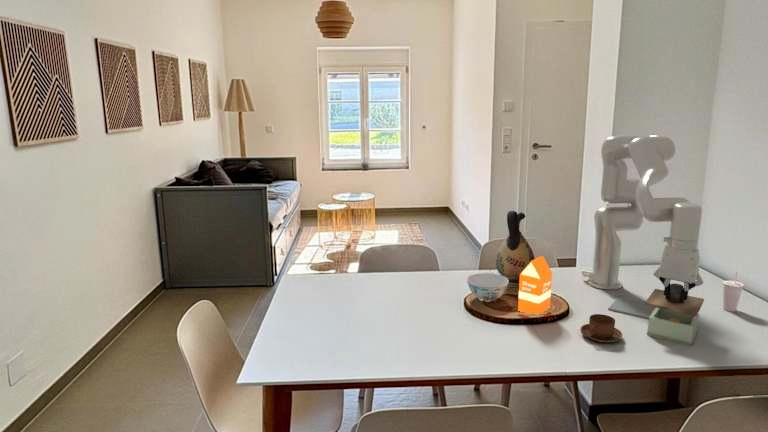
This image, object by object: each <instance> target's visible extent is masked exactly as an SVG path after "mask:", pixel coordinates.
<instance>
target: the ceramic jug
mask: <svg viewBox="0 0 768 432" xmlns="http://www.w3.org/2000/svg"><path fill="white" fill-rule="evenodd" d="M506 216H507V217H506V223H507V228H508V229H507V230H508V235H507V236H506V238H505V239H504V240H503V242H502V243H501V245H500V247H499V249H498V250H497V253H496V254H497V255H496V257H495V258H496V259H495V267H496V270H497V272H498V274H499V275H501V276H504V277H506V278H507V279H508V280H509V283H508V286H509V285H511V286H519V280H520V274H521V273H522V272H523V270H524V269H525V268H526V267H527V266H528V265H529V263H530V262H531V261H532V260H534V259H536V258H535V254H534V252H533V249H532V248H531V246H530V244H529V243H528V241H527V239H526V238H525V237H524V235H523V234H522V232H521V230H520V226H521V221H523V220H524V219H525V218H526V214H525V213H524V212H519V213H518V212H517V211H515V210H509V211H508V212H507V215H506Z"/></svg>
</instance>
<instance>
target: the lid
mask: <svg viewBox="0 0 768 432" xmlns="http://www.w3.org/2000/svg"><path fill="white" fill-rule="evenodd" d="M683 288H684V285H683V284H680V283H670V291H669V298H668V299H665V297H666V296H665V295H664V289H658V288H654V290H653V291H652V292H651V294H650V295H649V296H648V298H647V299H646V300H645V301H646V302H645V305H648V306H652V307H657V308H661V309H665V310H670V311H674V312H678V313H683V314H687V315H692V316H697V314H699V312H700V310H701V308H702V306H703V304H704V302H705V298H701V297H697V296H691V295H688V296H687V300H684V302H683V303H681V302H680V301H681V294H682V290H683Z"/></svg>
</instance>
